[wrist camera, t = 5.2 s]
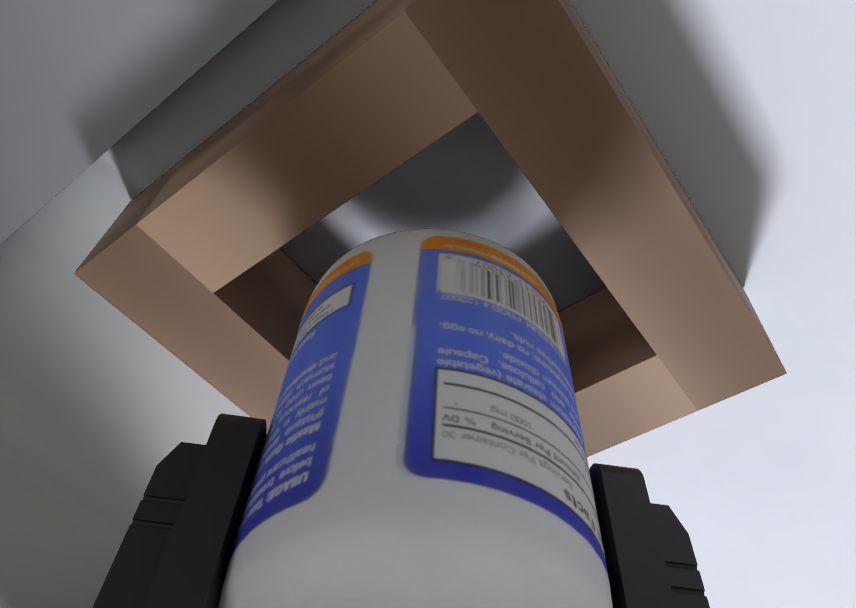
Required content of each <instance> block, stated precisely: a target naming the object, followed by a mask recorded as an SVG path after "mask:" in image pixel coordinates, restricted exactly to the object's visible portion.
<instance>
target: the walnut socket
mask: <svg viewBox="0 0 856 608" xmlns="http://www.w3.org/2000/svg"><path fill="white" fill-rule="evenodd" d="M477 112H479V114H480V115H481V116H482V118H483V119H484V120H485V122H486V123H487V125H488V126H489V127H490V129H491V130H492V131H493V133H494V134H495V135H496V137H497V138H498V140H499V141H500V142H501V144H502V145H503V146H504V148H505V149H506V150H507V152H508V153H509V154H510V156H511V157H512V159H513V160H514V161H515V163H516V164H517V165H518V167H519V168H520V169H521V171H522V172H523V174H524V175H525V176H526V178H527V179H528V180H529V182H530V183H531V184H532V186H533V187H534V189H535V190H536V191H537V193H538V194H539V195H540V197H541V198H542V199H543V201H544V202H545V203H546V205H547V206H548V208H549V209H550V210H551V212H552V213H553V214H554V216H555V217H556V218H557V220H558V221H559V223H560V224H561V225H562V227H563V228H564V229H565V231H566V232H567V233H568V235H569V236H570V238H571V239H572V240H573V242H574V243H575V244H576V246H577V247H578V248H579V250H580V251H581V253H582V254H583V255H584V257H585V258H586V259H587V261H588V262H589V263H590V265H591V266H592V267H593V269H594V270H595V272H596V273H597V274H598V276H599V277H600V278H601V280H602V281H603V282H604V284H605V285H606V288H604V289H602V290H600V291H598V292H596V293H594V294H592V295H591V296H589V297H587V298H585V299H583V300H581V301H579V302H577V303H575V304H573V305H571V306H569V307H567V308H565V309H564V310H562V311H560V312H558V315H559V318H560V321H561V324H562V328H563V333H564V339H565V345H566V350H567V355H568V360H569V366H570V371H571V376H572V382H573V387H574V392H575V397H576V403H577V408H578V414H579V420H580V424H581V429H582V435H583V440H584V446H585V451H586V456H587V457H589V456H591V455H593V454H596V453H598V452H600V451H603V450H605V449H608V448H610V447H612V446H615V445H617V444H620V443H622V442H624V441H627V440H629V439H632V438H634V437H636V436H639V435H641V434H643V433H646V432H648V431H651V430H653V429H655V428H658V427H660V426H663V425H665V424H667V423H670V422H672V421H674V420H677V419H679V418H682V417H684V416H686V415H689V414H691V413H694V412H696V411H698V410H701V409H703V408H705V407H708V406H710V405H713V404H715V403H717V402H720V401H722V400H725V399H727V398H729V397H732V396H734V395H737V394H739V393H741V392H744V391H746V390H748V389H751V388H753V387H756V386H758V385H760V384H763V383H765V382H768V381H770V380H772V379H775V378H777V377H779V376H782V375H784V374H787V373H786V371H785V369H784V367H783V365H782V363H781V361H780V359H779V357H778V355H777V353H776V351H775V349H774V347H773V345H772V343H771V341H770V340H769V338H768V336H767V334H766V332H765V330H764V328H763V326H762V324H761V322H760V320H759V318H758V316H757V314H756V312H755V310H754V308H753V306H752V305H751V303H750V301H749V299H748V297H747V295H746V293H745V291H744V289H743V287H742V286H741V284H740V283H739V281H738V279H737V278H736V276H735V274H734V273H733V271H732V269H731V268H730V266H729V264H728V263H727V261H726V259H725V258H724V256H723V254H722V253H721V251H720V249H719V248H718V246H717V244H716V243H715V241H714V239H713V238H712V236H711V234H710V233H709V231H708V229H707V228H706V226H705V225H704V223H703V221H702V220H701V218H700V216H699V215H698V213H697V211H696V210H695V208H694V206H693V205H692V203H691V201H690V200H689V198H688V196H687V195H686V193H685V191H684V190H683V188H682V186H681V185H680V183H679V181H678V180H677V178H676V176H675V175H674V173H673V172H672V170H671V168H670V167H669V165H668V163H667V162H666V160H665V158H664V157H663V155H662V153H661V152H660V150H659V148H658V147H657V145H656V143H655V142H654V140H653V138H652V137H651V135H650V133H649V132H648V130H647V128H646V127H645V125H644V123H643V122H642V120H641V119H640V117H639V115H638V114H637V112H636V110H635V109H634V107H633V105H632V104H631V102H630V100H629V99H628V97H627V95H626V94H625V92H624V90H623V89H622V87H621V85H620V84H619V82H618V80H617V79H616V77H615V75H614V74H613V72H612V70H611V69H610V67H609V65H608V64H607V62H606V61H605V59H604V57H603V56H602V54H601V52H600V51H599V49H598V47H597V46H596V44H595V42H594V41H593V39H592V37H591V36H590V34H589V32H588V31H587V29H586V27H585V26H584V24H583V22H582V21H581V19H580V17H579V16H578V14H577V12H576V11H575V9H574V8H573V6H572V4H571V3H570V1H569V0H377V1H376V2H374V3H373V4H372V5H371V6H370V7H368V8H367V9H366V10H365V11H363V12H362V13H361V14H360V15H359V16H357V17H356V18H355V19H354V20H352V21H351V22H350V23H349V24H347V25H346V26H345V27H344V28H343V29H341V30H340V31H339V32H338V33H336V34H335V35H334V36H333V37H332V38H330V39H329V40H328V41H327V42H325V43H324V44H323V45H322V46H321V47H319V48H318V49H317V50H316V51H314V52H313V53H312V54H311V55H309V56H308V57H307V58H306V59H305V60H303V61H302V62H301V63H300V64H298V65H297V66H296V67H295V68H294V69H292V70H291V71H290V72H289V73H287V74H286V75H285V76H284V77H282V78H281V79H280V80H279V81H278V82H276V83H275V84H274V85H273V86H271V87H270V88H269V89H268V90H267V91H265V92H264V93H263V94H262V95H260V96H259V97H258V98H257V99H256V100H254V101H253V102H252V103H251V104H249V105H248V106H247V107H246V108H244V109H243V110H242V111H241V112H240V113H238V114H237V115H236V116H235V117H233V118H232V119H231V120H230V121H229V122H227V123H226V124H225V125H224V126H222V127H221V128H220V129H219V130H217V131H216V132H215V133H214V134H213V135H211V136H210V137H209V138H208V139H206V140H205V141H204V142H203V143H202V144H200V145H199V146H198V147H197V148H195V149H194V150H193V151H192V152H191V153H189V154H188V155H187V156H186V157H184V158H183V159H182V160H181V161H179V162H178V163H177V164H176V165H175V166H173V167H172V168H171V169H170V170H168V171H167V172H166V173H165V174H164V175H162V176H161V177H160V178H159V179H157V180H156V181H155V182H154V183H152V184H151V185H150V186H149V187H148V188H146V189H145V190H144V191H143V192H141V193H140V194H139V195H138V196H137V197H135V198H134V199H133V200H132V201H130V203H129V204H128V205H127V206H126V208H125V209H124V210H123V212H122V213H121V214H120V215H119V217H118V218H117V219H116V220H115V222H114V223H113V224H112V226H111V227H110V228H109V229H108V231H107V232H106V233H105V235H104V236H103V237H102V238H101V240H100V241H99V242H98V243H97V245H96V246H95V247H94V249H93V250H92V251H91V252H90V254H89V255H88V256H87V257H86V259H85V260H84V261H83V263H82V264H81V265H80V266H79V268H78V269H77V270H76V271H75V273H74V274H75V275H76V276H77V277H79V278H80V279H81V280H82V281H83V282H85V283H86V284H87V285H88V286H90V287H91V288H92V289H93V290H95V291H96V292H97V293H98V294H100V295H101V296H102V297H103V298H104V299H106V300H107V301H108V302H109V303H111V304H112V305H113V306H114V307H116V308H117V309H118V310H119V311H120V312H122V313H123V314H124V315H125V316H127V317H128V318H129V319H130V320H132V321H133V322H134V323H135V324H137V325H138V326H139V327H140V328H141V329H143V330H144V331H145V332H146V333H148V334H149V335H150V336H151V337H153V338H154V339H155V340H156V341H158V342H159V343H160V344H161V345H162V346H164V347H165V348H166V349H167V350H169V351H170V352H171V353H172V354H174V355H175V356H176V357H177V358H178V359H180V360H181V361H182V362H183V363H185V364H186V365H187V366H188V367H190V368H191V369H192V370H193V371H195V372H196V373H197V374H198V375H199V376H201V377H202V378H203V379H204V380H206V381H207V382H208V383H209V384H211V385H212V386H213V387H214V388H216V389H217V390H218V391H219V392H220V393H222V394H223V395H224V396H225V397H227V398H228V399H229V400H230V401H232V402H233V403H234V404H235V405H236V406H238V407H239V408H240V409H241V410H243V411H244V412H245V413H246V414H248V415H249V416H250V417H252V418H259V419H265V420H266V424H267V431H268V430H269V427H270V423H271V420H272V417H273V413H274V410H275V407H276V404H277V400H278V397H279V394H280V390H281V387H282V384H283V380H284V377H285V374H286V370H287V367H288V364H289V360H290V357H291V354H292V351H293V348H294V344H295V341H296V337H297V334H298V330H299V326H300V323H301V320H302V317H303V314H304V311H305V309H306V307H307V304H308V302H309V300H310V297H311V295H312V293H313V291H314V289H315V288H316V286H317V285H316V284H315V283H314V282H313V281H312V280H311V279H310V278H309V277H308V276H307V275H306V274H305V273H304V272H303V271H302V270H301V269H300V268H299V267H298V266H297V265H296V264H295V263H294V262H293V261H292V260H291V259H290V258H289V257H288V256H287V255H286V254H285V253H284V252H283V251H282V250H281V249H280V247H281V246H283V245H284V244H286V243H287V242H289V241H290V240H291V239H293V238H294V237H296V236H297V235H299V234H300V233H302V232H303V231H305V230H306V229H308V228H309V227H310V226H312V225H313V224H315V223H316V222H318V221H319V220H321V219H322V218H324V217H325V216H327V215H328V214H329V213H331V212H332V211H334V210H335V209H337V208H338V207H340V206H341V205H343V204H344V203H346V202H347V201H348V200H350V199H351V198H353V197H354V196H356V195H357V194H359V193H360V192H362V191H363V190H365V189H366V188H368V187H369V186H370V185H372V184H373V183H375V182H376V181H378V180H379V179H381V178H382V177H384V176H385V175H387V174H388V173H389V172H391V171H392V170H394V169H395V168H397V167H398V166H400V165H401V164H403V163H404V162H406V161H407V160H408V159H410V158H411V157H413V156H414V155H416V154H417V153H419V152H420V151H422V150H423V149H425V148H426V147H427V146H429V145H430V144H432V143H433V142H435V141H436V140H438V139H439V138H441V137H442V136H444V135H445V134H446V133H448V132H449V131H451V130H452V129H454V128H455V127H457V126H458V125H460V124H461V123H463V122H464V121H465V120H467V119H468V118H470V117H471V116H473V115H474V114H476V113H477Z"/></svg>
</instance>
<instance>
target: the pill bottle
mask: <svg viewBox="0 0 856 608" xmlns="http://www.w3.org/2000/svg"><path fill="white" fill-rule="evenodd" d="M218 608H613V605H612V599H611V590H610V583H609V579H608V571H607V565H606V561H605V554H604V549H603V545H602V540H601V533H600V528H599V522H598V518H597V512H596V506H595V501H594V495H593V489H592V484H591V479H590V473H589V467H588V461H587V456H586V451H585V446H584V440H583V435H582V429H581V424H580V420H579V414H578V408H577V403H576V397H575V392H574V387H573V382H572V376H571V371H570V366H569V360H568V355H567V350H566V345H565V339H564V333H563V328H562V324H561V321H560V318H559V315H558V312H557V309H556V305H555V303H554V300H553V298H552V296H551V294H550V292H549V290H548V289H547V287H546V285H545V284H544V282H543V281H542V279H541V278H540V277H539V276H538V274H537V273H536V272H535V271H534V270H533V269H532V268H531V267H530V266H529V265H528V264H527V263H526V262H525V261H524V260H523V259H521V258H520V257H519V256H517V255H516V254H514V253H513V252H512V251H510V250H508V249H507V248H505V247H503V246H501V245H499V244H497V243H495V242H493V241H490V240H487V239H485V238H482V237H479V236H475V235H471V234H468V233H465V232H459V231H454V230H444V229H415V230H406V231H400V232H394V233H391V234H387V235H384V236H380V237H377V238H374V239H372V240H369V241H367V242H365V243H363V244H361V245H359V246H357V247H355V248H354V249H352V250H351V251H349V252H347V253H346V254H345V255H344V256H342V257H341V258H340V259H339V260H338V261H336V262H335V263H334V264H333V265H332V266H331V267H330V268H329V270H328V271H327V272H326V273H325V274H324V276H323V277H322V278H321V280H320V281H319V283H318V284H317V286H316V288H315V289H314V291H313V293H312V295H311V297H310V300H309V302H308V304H307V307H306V309H305V311H304V314H303V317H302V320H301V323H300V326H299V330H298V334H297V337H296V341H295V344H294V348H293V351H292V354H291V357H290V360H289V364H288V367H287V370H286V374H285V377H284V380H283V384H282V387H281V390H280V394H279V397H278V400H277V404H276V407H275V410H274V413H273V417H272V420H271V423H270V427H269V430H268V433H267V437H266V440H265V443H264V447H263V450H262V453H261V457H260V460H259V463H258V467H257V470H256V473H255V476H254V480H253V483H252V486H251V490H250V493H249V496H248V499H247V503H246V506H245V509H244V512H243V516H242V519H241V522H240V526H239V529H238V532H237V536H236V539H235V543H234V547H233V550H232V554H231V557H230V561H229V564H228V568H227V572H226V575H225V579H224V583H223V587H222V591H221V596H220V601H219V607H218Z"/></svg>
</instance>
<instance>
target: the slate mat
mask: <svg viewBox="0 0 856 608" xmlns="http://www.w3.org/2000/svg"><path fill="white" fill-rule="evenodd" d="M276 1H278V0H0V244H1V243H2V242H3V241H4V240H6V239H7V238H8V237H9V236H10V235H11V234H12V233H14V232H15V231H16V230H17V229H18V228H19V227H20V226H22V225H23V224H24V223H25V222H26V221H27V220H28V219H30V218H31V217H32V216H33V215H34V214H35V213H36V212H37V211H39V210H40V209H41V208H42V207H43V206H44V205H45V204H47V203H48V202H49V201H50V200H51V199H52V198H53V197H55V196H56V195H57V194H58V193H59V192H60V191H61V190H63V189H64V188H65V187H66V186H67V185H68V184H69V183H70V182H72V181H73V180H74V179H75V178H76V177H77V176H78V175H80V174H81V173H82V172H83V171H84V170H85V169H86V168H88V167H89V166H90V165H91V164H92V163H93V162H94V161H96V160H97V159H98V158H99V157H100V156H101V155H102V154H103V153H105V152H106V151H107V150H108V149H109V148H110V147H111V146H113V145H114V144H115V143H116V142H117V141H118V140H119V139H121V138H122V137H123V136H124V135H125V134H126V133H127V132H129V131H130V130H131V129H132V128H133V127H134V126H135V125H136V124H138V123H139V122H140V121H141V120H142V119H143V118H144V117H146V116H147V115H148V114H149V113H150V112H151V111H152V110H154V109H155V108H156V107H157V106H158V105H159V104H160V103H161V102H163V101H164V100H165V99H166V98H167V97H168V96H169V95H171V94H172V93H173V92H174V91H175V90H176V89H177V88H179V87H180V86H181V85H182V84H183V83H184V82H185V81H187V80H188V79H189V78H190V77H191V76H192V75H193V74H194V73H196V72H197V71H198V70H199V69H200V68H201V67H202V66H204V65H205V64H206V63H207V62H208V61H209V60H210V59H212V58H213V57H214V56H215V55H216V54H217V53H218V52H220V51H221V50H222V49H223V48H224V47H225V46H226V45H227V44H229V43H230V42H231V41H232V40H233V39H234V38H235V37H237V36H238V35H239V34H240V33H241V32H242V31H243V30H245V29H246V28H247V27H248V26H249V25H250V24H251V23H253V22H254V21H255V20H256V19H257V18H258V17H259V16H260V15H262V14H263V13H264V12H265V11H266V10H267V9H268V8H270V7H271V6H272V5H273V4H274V3H275V2H276Z"/></svg>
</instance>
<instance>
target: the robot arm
mask: <svg viewBox="0 0 856 608" xmlns="http://www.w3.org/2000/svg"><path fill="white" fill-rule="evenodd" d="M266 437H267V424H266V420H265V419H259V418H252V417H244V416H236V415H228V414H220V415H219V416H218V417H217V419H216V421H215V424H214V426H213V429H212V431H211V434H210V437H209V439H208V442H207V444H206V445H201V444H193V443H185V442H181V443H180V444H179V445H178V446H177V447H176V448H175V449H173V450H172V451H171V452H170V453H169V454H168V455H167V456H166V457H165V458H164V459H163V460H162V461H161V462H160V463H159V464H158V465H157V466H156V468H155V471H154V473H153V475H152V477H151V480H150V482H149V484H148V486H147V488H146V491H145V493H144V497H143V500H141V502H140V504H139V506H138V508H137V511H136V513H135V515H134V517H133V522H132V525H130V526H129V528H128V531H127V533H126V535H125V537H124V539H123V542H122V544H121V546H120V548H119V551H118V553H117V555H116V557H115V559H114V562H113V564H112V566H111V568H110V570H109V573H108V575H107V577H106V579H105V582H104V584H103V586H102V588H101V590H100V593H99V595H98V597H97V599H96V602H95V604H94V606H93V608H218V607H219V601H220V596H221V591H222V587H223V583H224V579H225V575H226V572H227V568H228V564H229V561H230V557H231V554H232V550H233V547H234V543H235V539H236V536H237V532H238V529H239V526H240V522H241V519H242V516H243V512H244V509H245V506H246V503H247V499H248V496H249V493H250V490H251V486H252V483H253V480H254V476H255V473H256V470H257V467H258V463H259V460H260V457H261V453H262V450H263V447H264V443H265V440H266ZM589 473H590V479H591V484H592V489H593V495H594V501H595V506H596V512H597V518H598V522H599V528H600V533H601V540H602V545H603V549H604V554H605V561H606V565H607V571H608V579H609V583H610V590H611V599H612V605H613V608H710V607H709V603H708V600H707V597H705V596H704V591H705V589H704V586H703V582H702V579H701V576H700V572H699V571H697V562H696V558H695V555H694V551H693V548H692V544H691V541H690V538H689V534H688V533H687V531H686V530H685V528H684V527H683V526H682V524H681V523H680V521H679V520H678V518H677V517H676V516H675V514H674V513H673V511H672V510H671V509H670V507H669V506H668V505H660V504H652V503H650V500H649V496H648V492H647V488H646V484H645V480H644V477H643V475H642V473H641V471H640V470H639V469H635V468H627V467H619V466H612V465H604V464H596V463H595V464H593V465H592V466H591V467H590V469H589Z"/></svg>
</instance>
